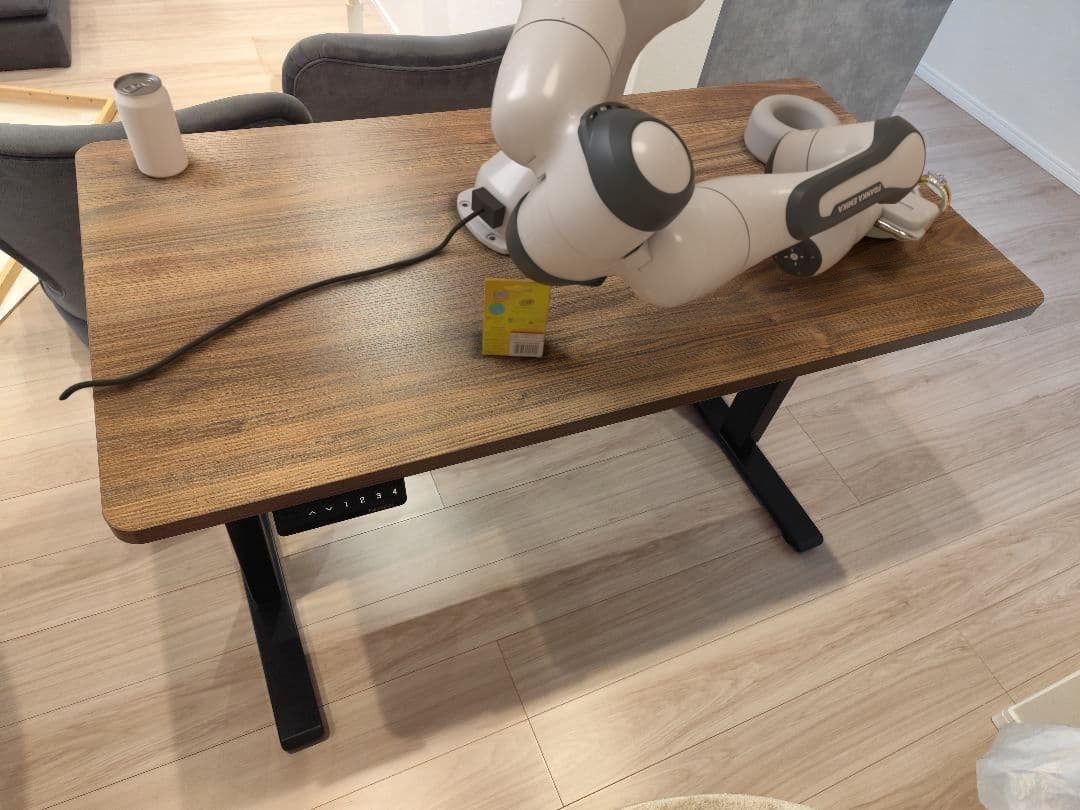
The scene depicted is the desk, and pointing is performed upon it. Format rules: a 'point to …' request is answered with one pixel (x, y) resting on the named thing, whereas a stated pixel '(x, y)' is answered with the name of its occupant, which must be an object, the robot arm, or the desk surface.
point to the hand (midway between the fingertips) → (885, 174)
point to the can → (150, 124)
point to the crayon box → (514, 317)
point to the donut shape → (783, 121)
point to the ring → (941, 185)
